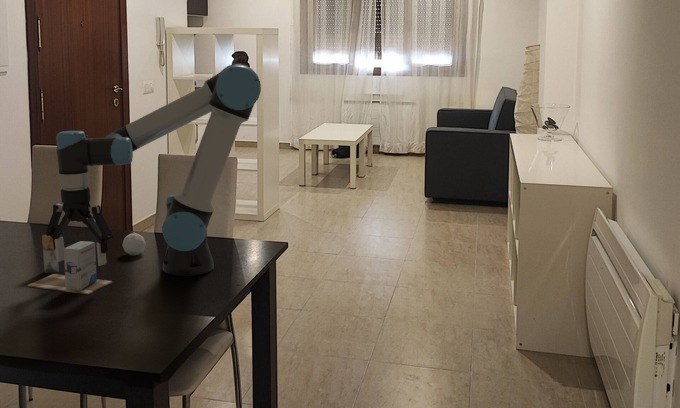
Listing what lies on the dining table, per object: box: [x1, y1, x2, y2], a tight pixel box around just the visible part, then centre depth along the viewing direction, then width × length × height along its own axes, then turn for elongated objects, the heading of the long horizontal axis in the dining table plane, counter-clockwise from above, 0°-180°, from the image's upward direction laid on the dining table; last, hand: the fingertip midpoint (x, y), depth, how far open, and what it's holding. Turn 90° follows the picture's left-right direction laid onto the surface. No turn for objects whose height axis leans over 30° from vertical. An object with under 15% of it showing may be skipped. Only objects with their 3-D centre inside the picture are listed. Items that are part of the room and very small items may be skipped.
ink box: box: [63, 240, 97, 290], centre depth 206 cm, size 9×5×12 cm, turn 167°
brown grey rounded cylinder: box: [41, 234, 60, 274], centre depth 220 cm, size 4×4×11 cm
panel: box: [27, 273, 113, 295], centre depth 209 cm, size 20×11×1 cm, turn 73°
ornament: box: [122, 231, 147, 256], centre depth 239 cm, size 7×7×8 cm
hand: (81, 262), depth 206 cm, fingers open, 13 cm apart
